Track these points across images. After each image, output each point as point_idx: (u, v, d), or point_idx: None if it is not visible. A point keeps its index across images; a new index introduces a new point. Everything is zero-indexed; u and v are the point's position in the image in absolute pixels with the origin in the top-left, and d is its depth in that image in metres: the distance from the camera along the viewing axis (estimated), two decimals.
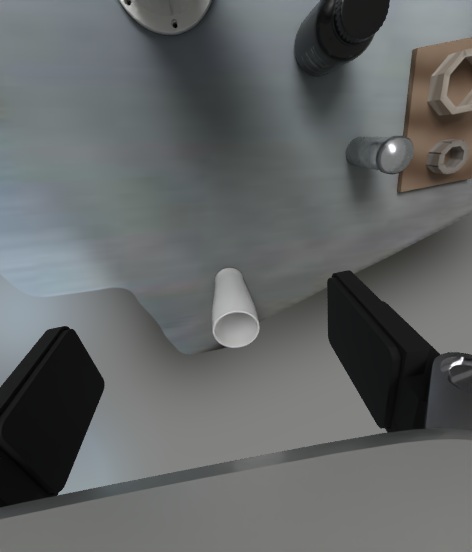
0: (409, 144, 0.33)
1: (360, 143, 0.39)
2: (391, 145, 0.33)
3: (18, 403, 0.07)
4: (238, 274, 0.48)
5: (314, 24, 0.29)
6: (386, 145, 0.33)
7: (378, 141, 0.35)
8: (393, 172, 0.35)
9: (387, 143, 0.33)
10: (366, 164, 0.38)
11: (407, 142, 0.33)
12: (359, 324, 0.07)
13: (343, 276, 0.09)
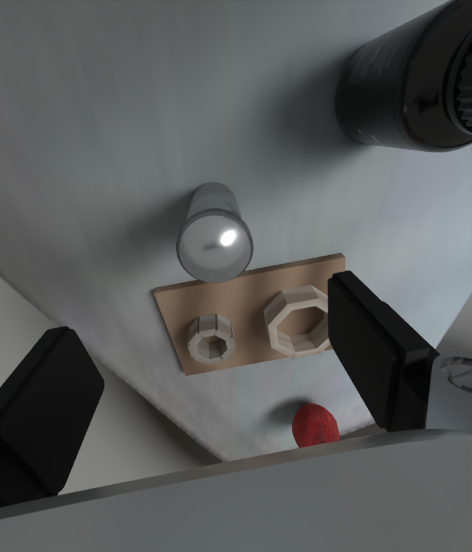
0: (237, 269, 0.16)
1: (228, 195, 0.20)
2: (236, 231, 0.15)
3: (18, 403, 0.07)
4: None
5: None
6: (235, 221, 0.15)
7: (238, 214, 0.17)
8: (180, 253, 0.15)
9: (238, 224, 0.15)
10: (193, 207, 0.18)
11: (241, 263, 0.16)
12: (359, 324, 0.07)
13: (343, 276, 0.09)
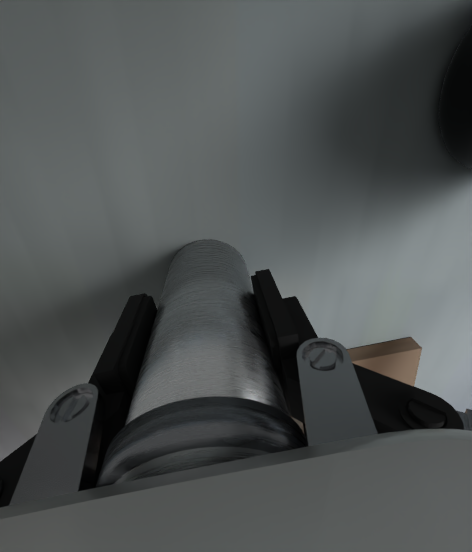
0: None
1: (237, 278, 0.10)
2: None
3: (131, 349, 0.08)
4: None
5: None
6: None
7: (266, 357, 0.07)
8: None
9: None
10: (160, 325, 0.08)
11: None
12: (262, 316, 0.09)
13: (260, 274, 0.10)
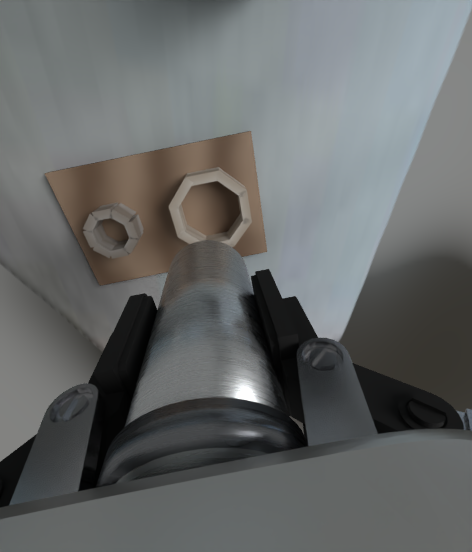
0: None
1: (237, 279, 0.10)
2: None
3: (131, 349, 0.08)
4: None
5: None
6: None
7: (265, 358, 0.07)
8: None
9: None
10: (160, 326, 0.08)
11: None
12: (262, 316, 0.09)
13: (260, 274, 0.10)
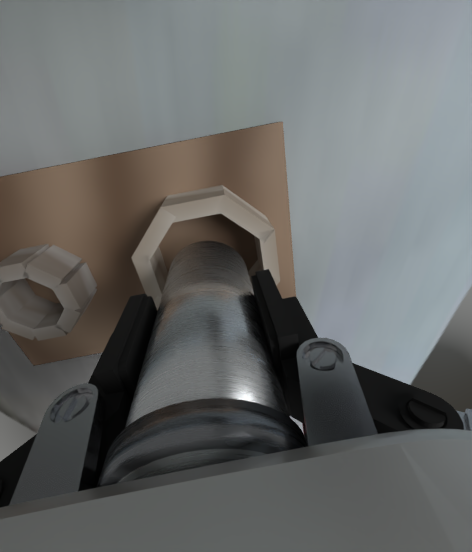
0: None
1: (237, 279, 0.10)
2: None
3: (131, 349, 0.08)
4: None
5: None
6: None
7: (265, 358, 0.07)
8: None
9: None
10: (160, 327, 0.08)
11: None
12: (262, 316, 0.09)
13: (260, 274, 0.10)
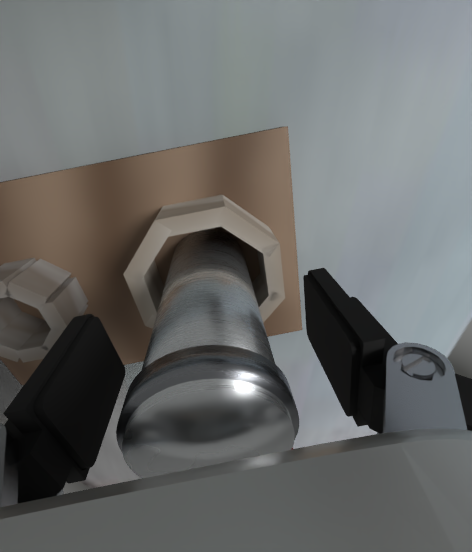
0: None
1: (234, 262, 0.12)
2: (262, 412, 0.06)
3: (55, 381, 0.07)
4: None
5: None
6: (261, 388, 0.06)
7: (257, 324, 0.08)
8: (127, 453, 0.06)
9: (268, 387, 0.06)
10: (167, 300, 0.09)
11: None
12: (328, 318, 0.08)
13: (317, 273, 0.09)
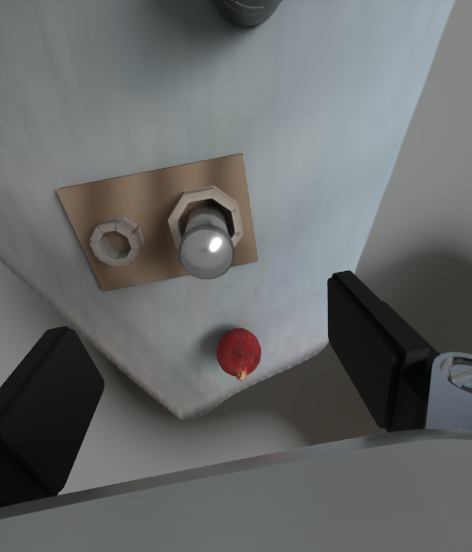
0: (223, 268, 0.22)
1: (217, 213, 0.26)
2: (221, 241, 0.21)
3: (18, 403, 0.07)
4: None
5: None
6: (221, 233, 0.21)
7: (224, 228, 0.23)
8: (181, 256, 0.21)
9: (223, 235, 0.21)
10: (190, 222, 0.24)
11: (226, 264, 0.22)
12: (359, 324, 0.07)
13: (343, 276, 0.09)
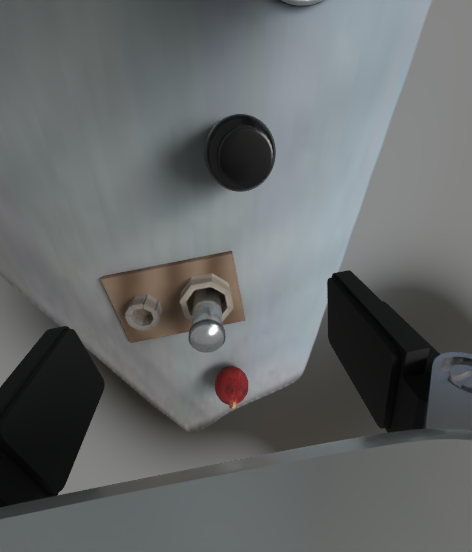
0: (218, 346, 0.33)
1: (214, 297, 0.38)
2: (216, 331, 0.32)
3: (18, 403, 0.07)
4: None
5: (238, 114, 0.25)
6: (216, 326, 0.32)
7: (218, 315, 0.34)
8: (190, 340, 0.32)
9: (217, 327, 0.32)
10: (195, 309, 0.35)
11: (219, 344, 0.33)
12: (359, 324, 0.07)
13: (343, 276, 0.09)
